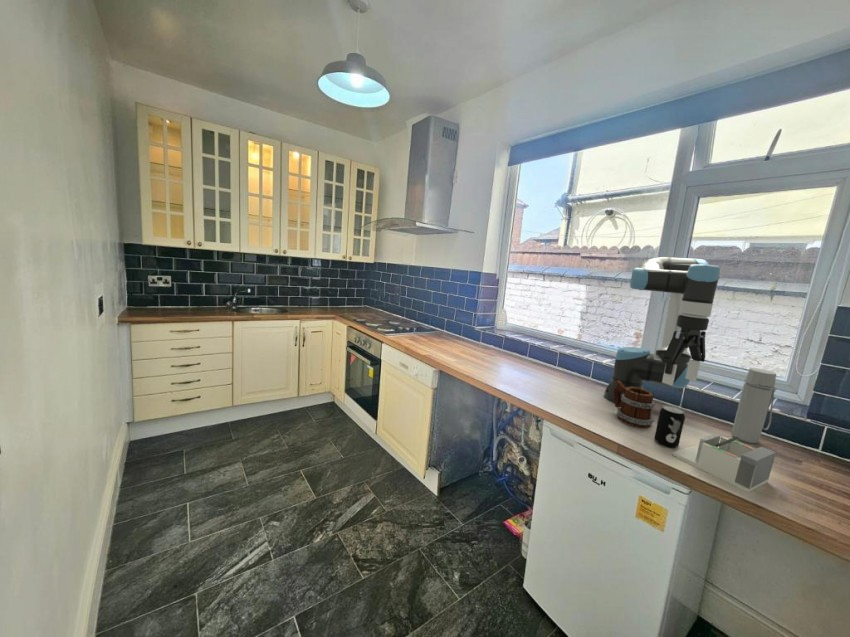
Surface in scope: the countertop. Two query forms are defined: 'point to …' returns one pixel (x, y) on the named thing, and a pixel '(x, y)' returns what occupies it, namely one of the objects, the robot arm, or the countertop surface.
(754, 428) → the water bottle
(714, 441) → the grey angled piece
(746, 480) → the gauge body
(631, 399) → the mug
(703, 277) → the robot arm
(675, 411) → the beverage can
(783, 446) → the countertop surface
